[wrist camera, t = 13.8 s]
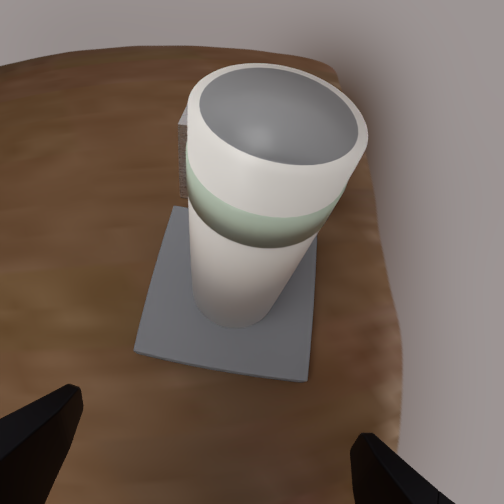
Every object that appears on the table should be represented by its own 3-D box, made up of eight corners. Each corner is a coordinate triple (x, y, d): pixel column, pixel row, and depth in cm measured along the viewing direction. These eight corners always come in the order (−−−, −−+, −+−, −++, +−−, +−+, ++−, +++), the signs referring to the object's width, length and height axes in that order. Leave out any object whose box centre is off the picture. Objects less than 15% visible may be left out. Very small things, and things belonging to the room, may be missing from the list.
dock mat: (302, 382, 18) (307, 381, 17) (136, 353, 18) (133, 350, 17) (312, 240, 23) (316, 233, 22) (174, 213, 22) (173, 205, 22)
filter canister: (289, 312, 19) (403, 161, 8) (208, 341, 18) (222, 198, 6) (257, 241, 21) (313, 61, 10) (181, 263, 20) (168, 72, 8)
